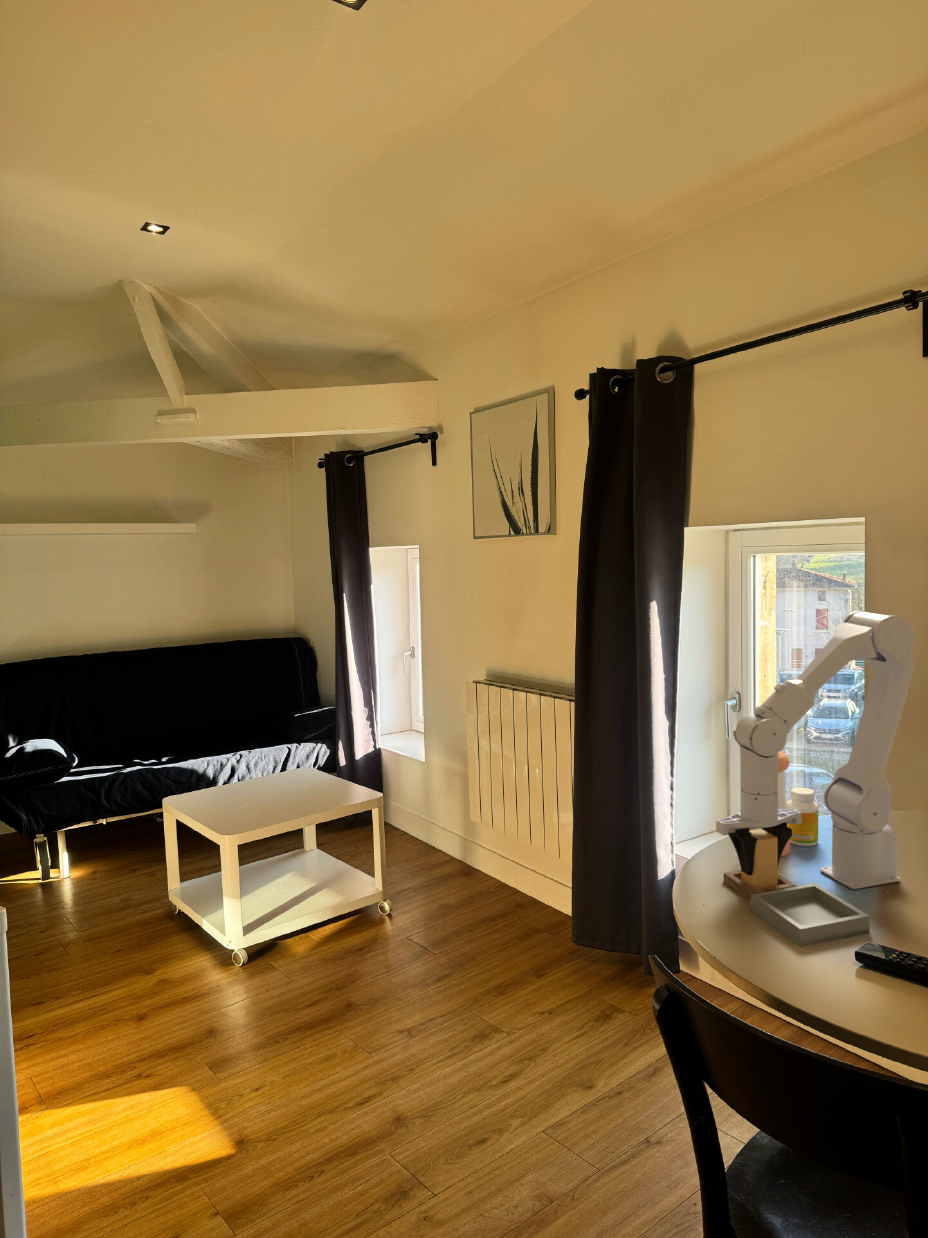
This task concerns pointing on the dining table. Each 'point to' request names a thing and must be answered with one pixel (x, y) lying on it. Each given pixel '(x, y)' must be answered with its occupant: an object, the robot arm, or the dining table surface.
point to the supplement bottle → (804, 817)
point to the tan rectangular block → (763, 861)
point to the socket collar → (735, 882)
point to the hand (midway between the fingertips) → (759, 870)
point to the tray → (809, 914)
